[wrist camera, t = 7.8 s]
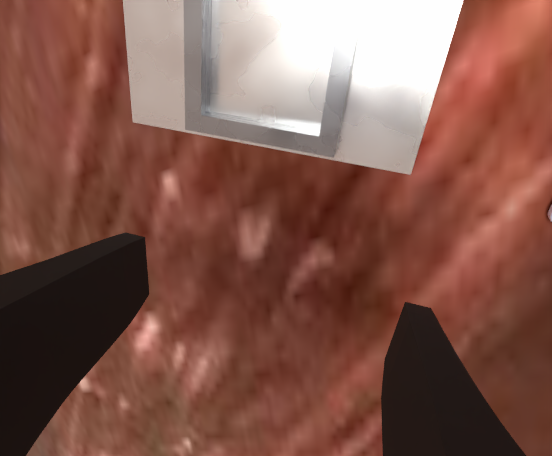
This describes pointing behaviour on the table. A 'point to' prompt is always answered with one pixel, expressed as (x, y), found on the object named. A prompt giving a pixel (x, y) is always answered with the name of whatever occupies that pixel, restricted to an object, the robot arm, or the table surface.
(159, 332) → the table surface
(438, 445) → the robot arm
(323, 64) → the panel
